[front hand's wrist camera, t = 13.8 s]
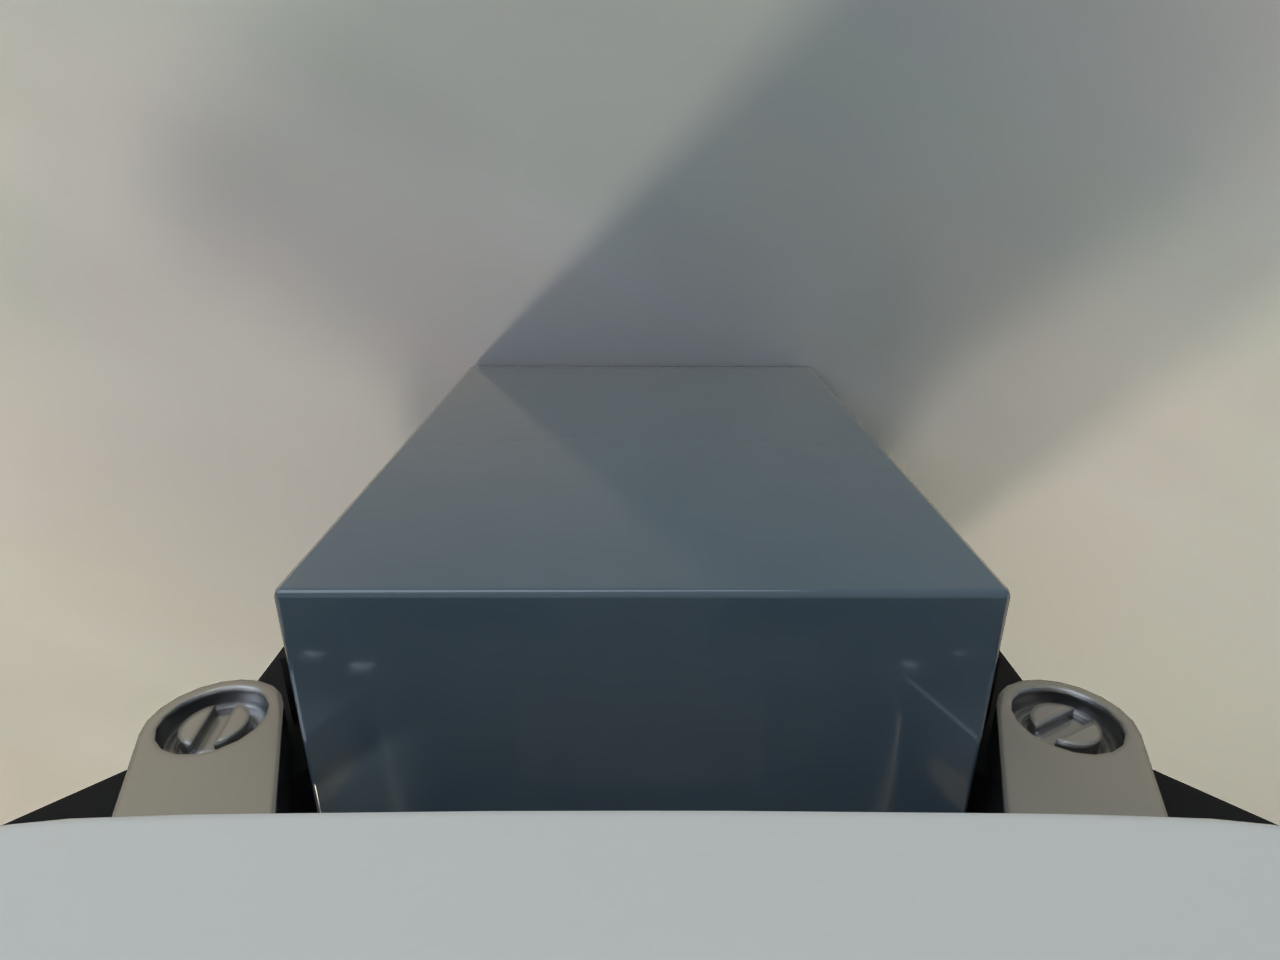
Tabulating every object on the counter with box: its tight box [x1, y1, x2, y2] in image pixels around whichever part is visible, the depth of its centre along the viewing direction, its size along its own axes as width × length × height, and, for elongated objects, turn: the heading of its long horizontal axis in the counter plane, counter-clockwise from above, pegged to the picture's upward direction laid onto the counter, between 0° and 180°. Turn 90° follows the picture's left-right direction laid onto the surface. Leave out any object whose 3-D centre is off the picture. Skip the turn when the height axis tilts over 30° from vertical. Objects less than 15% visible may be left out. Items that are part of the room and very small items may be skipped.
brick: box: [274, 367, 1010, 813], centre depth 11 cm, size 6×6×8 cm
